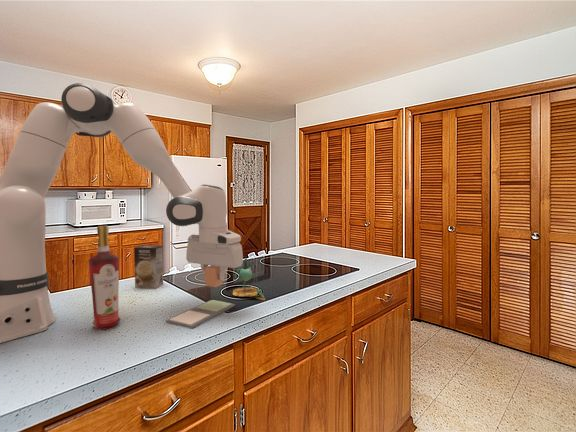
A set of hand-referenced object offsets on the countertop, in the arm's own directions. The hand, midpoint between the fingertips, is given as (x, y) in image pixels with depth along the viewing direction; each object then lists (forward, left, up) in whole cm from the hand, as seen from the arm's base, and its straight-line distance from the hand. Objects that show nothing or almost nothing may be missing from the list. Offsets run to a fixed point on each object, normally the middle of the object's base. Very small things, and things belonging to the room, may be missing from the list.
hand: (214, 278), depth 106 cm
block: (0, 0, -2) cm, 2 cm away
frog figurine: (+16, -2, -10) cm, 19 cm away
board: (-6, 0, -10) cm, 11 cm away
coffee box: (+8, +39, -10) cm, 41 cm away
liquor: (-25, +18, -10) cm, 32 cm away
